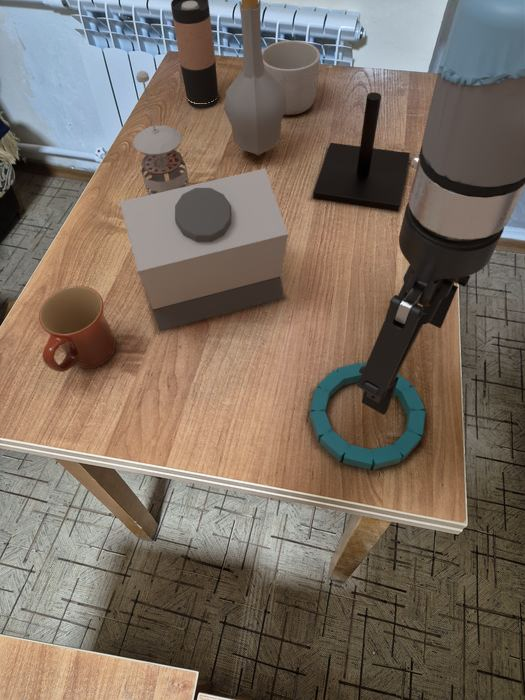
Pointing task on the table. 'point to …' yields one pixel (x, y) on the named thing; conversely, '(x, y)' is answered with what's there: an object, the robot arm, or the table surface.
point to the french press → (160, 154)
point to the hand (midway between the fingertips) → (403, 361)
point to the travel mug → (196, 50)
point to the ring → (358, 454)
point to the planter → (294, 72)
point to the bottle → (254, 91)
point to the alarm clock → (208, 247)
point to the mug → (76, 329)
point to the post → (363, 169)
